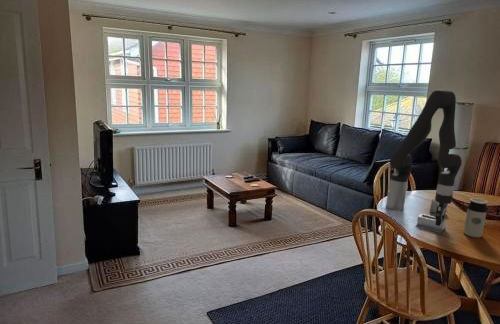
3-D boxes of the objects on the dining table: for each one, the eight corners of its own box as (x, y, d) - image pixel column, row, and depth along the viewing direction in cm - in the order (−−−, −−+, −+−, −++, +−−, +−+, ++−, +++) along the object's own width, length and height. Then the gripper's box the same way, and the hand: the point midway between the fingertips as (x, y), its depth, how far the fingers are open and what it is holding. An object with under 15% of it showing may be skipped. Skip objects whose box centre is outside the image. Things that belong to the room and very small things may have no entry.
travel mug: (464, 229, 187) (470, 196, 182) (482, 234, 182) (489, 200, 178) (461, 234, 181) (468, 200, 176) (480, 239, 176) (487, 204, 172)
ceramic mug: (445, 216, 205) (447, 203, 203) (429, 213, 208) (431, 200, 207) (445, 211, 214) (447, 198, 212) (429, 208, 218) (431, 196, 216)
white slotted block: (417, 224, 190) (418, 216, 189) (419, 221, 195) (421, 213, 194) (442, 230, 183) (443, 222, 182) (444, 227, 188) (445, 219, 187)
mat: (415, 226, 189) (415, 225, 189) (420, 220, 197) (420, 220, 197) (440, 232, 182) (440, 232, 182) (444, 226, 189) (445, 226, 189)
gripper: (439, 188, 190) (434, 217, 194) (433, 194, 179) (428, 224, 183) (455, 191, 186) (450, 220, 189) (449, 197, 175) (444, 229, 178)
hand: (439, 222), depth 186 cm, fingers open, 8 cm apart
